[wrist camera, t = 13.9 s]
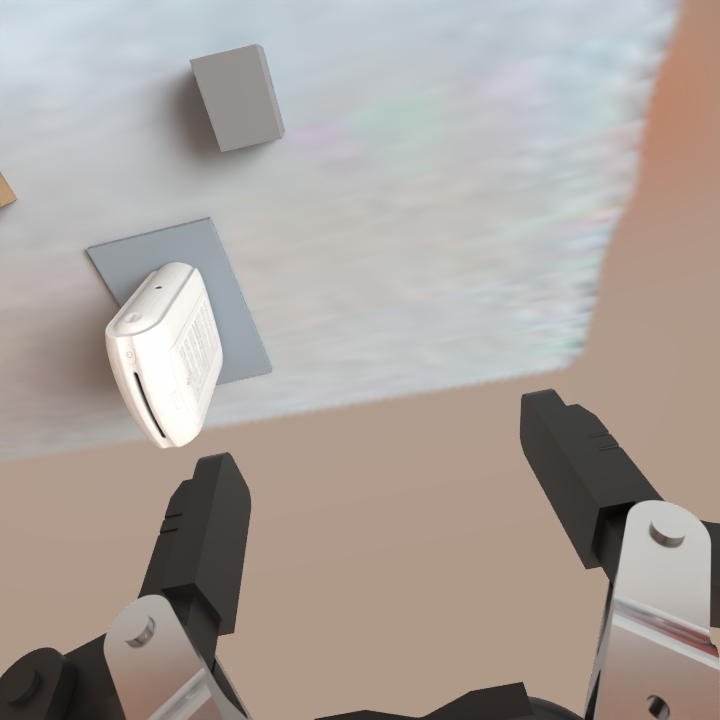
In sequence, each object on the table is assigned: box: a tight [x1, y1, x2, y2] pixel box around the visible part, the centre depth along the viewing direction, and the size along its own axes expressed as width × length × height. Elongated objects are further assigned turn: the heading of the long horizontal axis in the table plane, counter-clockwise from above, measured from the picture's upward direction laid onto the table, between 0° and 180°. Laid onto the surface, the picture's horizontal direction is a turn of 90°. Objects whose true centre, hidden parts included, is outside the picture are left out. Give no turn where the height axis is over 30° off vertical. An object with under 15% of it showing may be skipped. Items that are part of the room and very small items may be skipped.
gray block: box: [190, 44, 285, 152], centre depth 28 cm, size 5×4×4 cm
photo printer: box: [105, 262, 223, 449], centre depth 33 cm, size 10×4×12 cm, turn 4°
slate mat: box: [87, 217, 272, 385], centre depth 38 cm, size 15×10×1 cm, turn 13°
